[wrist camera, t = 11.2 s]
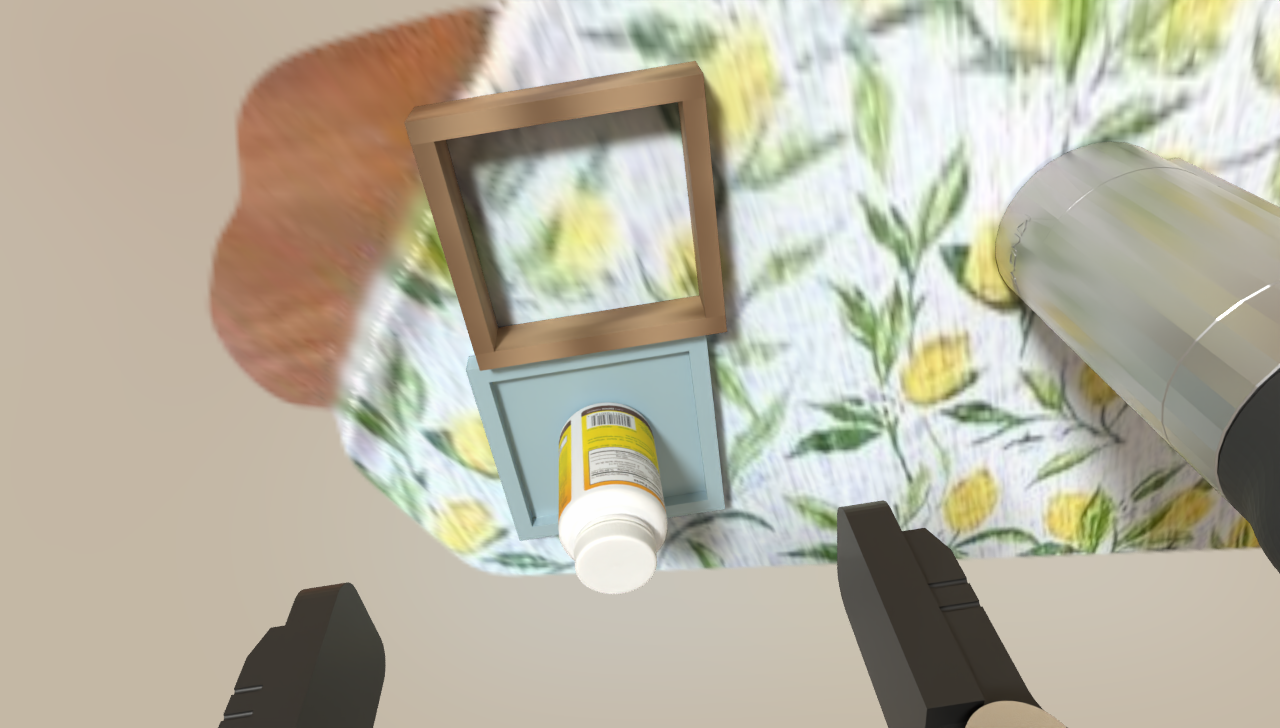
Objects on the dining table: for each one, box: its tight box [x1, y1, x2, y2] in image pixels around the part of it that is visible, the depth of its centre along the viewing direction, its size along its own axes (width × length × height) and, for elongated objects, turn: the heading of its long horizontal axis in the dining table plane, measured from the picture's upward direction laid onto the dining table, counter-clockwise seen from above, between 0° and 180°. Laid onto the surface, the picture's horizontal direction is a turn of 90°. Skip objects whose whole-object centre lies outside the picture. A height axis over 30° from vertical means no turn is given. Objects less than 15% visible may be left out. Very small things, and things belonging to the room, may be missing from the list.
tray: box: [466, 335, 725, 541], centre depth 46 cm, size 13×13×1 cm
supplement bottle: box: [558, 402, 668, 594], centre depth 42 cm, size 6×6×10 cm
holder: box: [404, 61, 727, 371], centre depth 38 cm, size 13×13×2 cm
